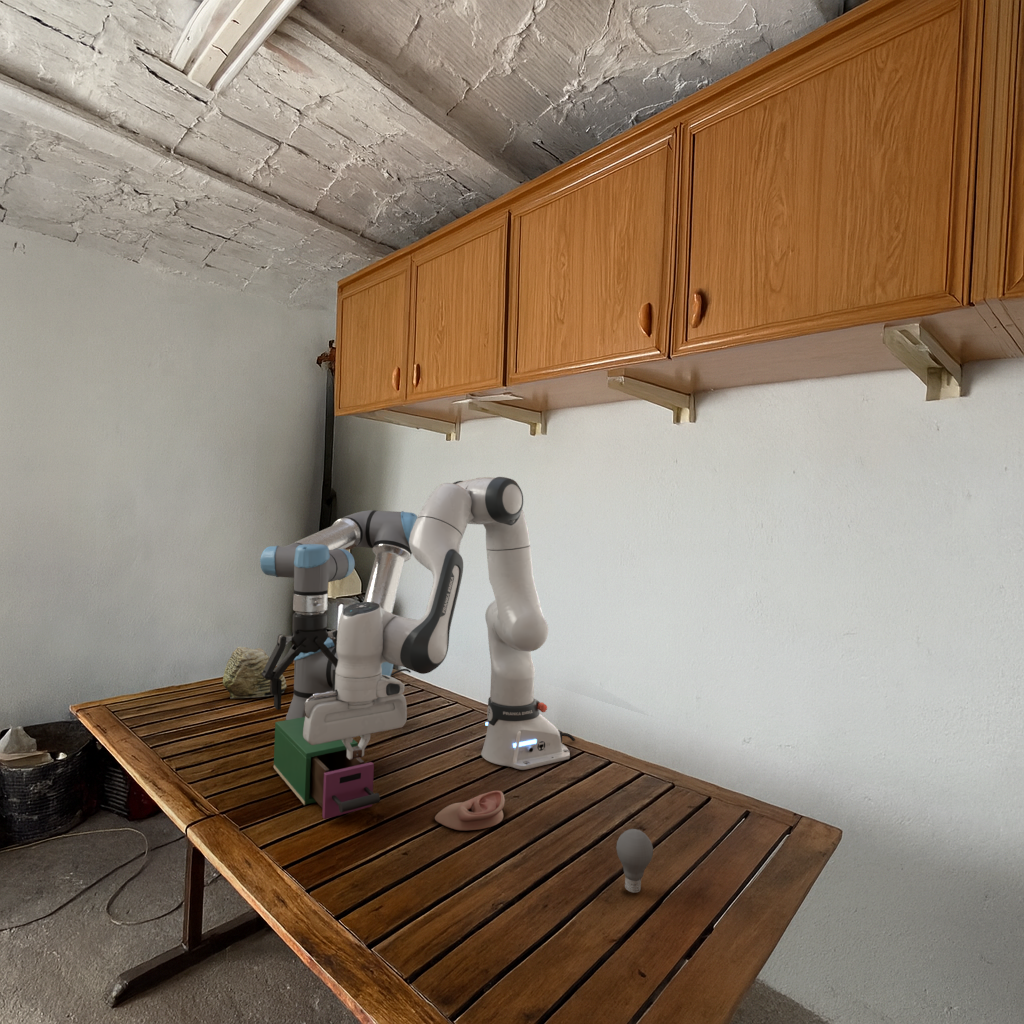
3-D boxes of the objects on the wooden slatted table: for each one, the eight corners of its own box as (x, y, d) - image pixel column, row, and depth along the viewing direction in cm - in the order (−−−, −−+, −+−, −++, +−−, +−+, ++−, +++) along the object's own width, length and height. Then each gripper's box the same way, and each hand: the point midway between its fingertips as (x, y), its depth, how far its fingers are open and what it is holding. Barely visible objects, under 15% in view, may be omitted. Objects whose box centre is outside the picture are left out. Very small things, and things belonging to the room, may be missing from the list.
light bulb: (610, 879, 108) (613, 822, 108) (644, 879, 109) (647, 822, 109) (619, 902, 102) (622, 840, 102) (655, 901, 103) (658, 840, 103)
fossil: (218, 695, 195) (220, 647, 195) (278, 685, 208) (279, 640, 207) (228, 703, 189) (230, 653, 188) (289, 692, 201) (290, 645, 201)
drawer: (384, 818, 124) (386, 774, 124) (335, 832, 118) (337, 786, 118) (335, 770, 144) (336, 732, 144) (291, 780, 138) (292, 741, 138)
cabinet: (356, 791, 137) (358, 742, 136) (304, 805, 130) (306, 753, 130) (320, 757, 154) (322, 713, 153) (273, 767, 147) (275, 721, 147)
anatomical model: (430, 806, 123) (447, 781, 135) (429, 826, 123) (447, 799, 135) (496, 815, 121) (508, 789, 132) (495, 836, 121) (508, 808, 132)
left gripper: (258, 619, 135) (255, 717, 136) (367, 610, 150) (364, 698, 151) (249, 613, 141) (246, 707, 142) (355, 604, 156) (352, 690, 157)
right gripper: (311, 699, 115) (308, 775, 115) (411, 683, 127) (409, 752, 127) (299, 690, 120) (296, 762, 120) (397, 676, 132) (394, 741, 132)
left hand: (307, 703), depth 146 cm, fingers open, 13 cm apart
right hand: (355, 757), depth 124 cm, fingers closed
